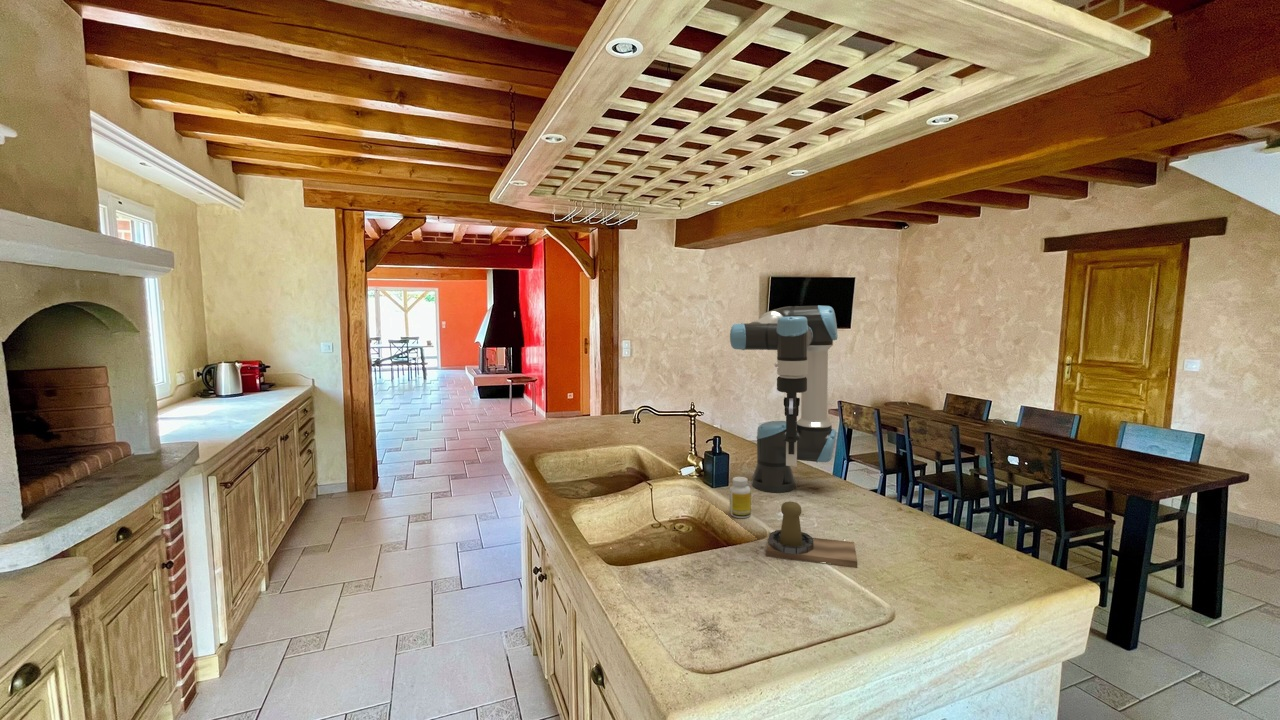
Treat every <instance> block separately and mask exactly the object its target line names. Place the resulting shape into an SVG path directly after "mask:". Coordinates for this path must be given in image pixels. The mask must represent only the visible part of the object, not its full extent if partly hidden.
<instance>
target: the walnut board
mask: <svg viewBox="0 0 1280 720" xmlns="http://www.w3.org/2000/svg"><path fill="white" fill-rule="evenodd" d="M770 533H771V532H769V534H770ZM769 534H768V535H769ZM812 538H813V539H814V547H813V550H811V551H810V552H808V553H803V554H789V553H783V552H780V551H778V550H775V549H773V548H772V547H771V546H770V545H769V537H768V539H767V545H766V551H765V552H766V555H765V556H766V557H771V558H776V559H777V558H778V559H787V560H794V561H800V562H801V561H802V562H809V563H810V562H811V563H818V564H821V563H820V562H826V563H831V564H830V565H832V564H836V565H835V566H840V565H843V566H842V567H848V568H858V558H857V552H856V546H855V542H854V541H846V540H838V539H829V538H828V539H827V538H818V537H812Z"/></svg>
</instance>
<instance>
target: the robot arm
mask: <svg viewBox="0 0 1280 720" xmlns="http://www.w3.org/2000/svg"><path fill="white" fill-rule="evenodd" d="M837 325H838V323H837V318H836V313H835V310H834V308H833V307H832V306H830V305H819V304H818V305H800V306H799V305H794V306H793V305H791V306H790V305H789V306H788V305H787V306H783V307H779V308H774V309H772V310H769V311H766V312H765V313H763V314H761V316H760V317H759V318H758V319H756V320H754V321H751V322H747V323H743V322H741V323H734V324H732V325H731V328H730V333H729V340H730V341H729V342H730V346H731V347H732V349H734V350H742V351H746V350H747V351H748V350H749V351H752V350H753V351H755V350H756V351H757V350H758V351H762V350H763V351H765V350H766V351H776V352H777V353H776V354H777V355H776V360H777V361H776V362H777V363H774V367H775V368H777V369H776V374H777V375H778V377H777V378H776V390H777V391H778V392H779V393H780V392H781V393H786V397H785V396H784V397H783V406H784V416H785V420H775V421H773V420H772V421H767V422H764V423H761V424H759V426H758V427H757V431H756V459H757V460H756V466H755V469H754V473H753V476H752V478H751V479H752V481H751V484H752V486H753V487H754V488H755V489H757V490H760V491H762V490H763V492H768V493H787V492H790V490H791V491H793V490H795V488H796V479H795V475H794V472H793V469H792V467H797V464H798V461H802V462H803V461H804V462H813V463H814V462H815V463H829V462H831V461H832V457H833V454H834V449H835V443H836V436H837V435H836V434H837V430H836V429H834V428H832V425H833V424H832V422H831V421H829V419H828V385H829V384H828V382H829V381H828V380H829V379H828V371H829V368H828V366H829V363H828V362H829V361H828V360H829V353H828V352H829V350H830V348H831V347H833V346H834V341H836V340H838V326H837ZM797 393H798V394H801V395H800V396H801V397H797V395H798V394H797ZM800 403H801V404H800ZM800 405H801V406H800ZM799 409H800V413H801V414H800V418H799V419H798V416H799ZM786 491H787V492H786Z"/></svg>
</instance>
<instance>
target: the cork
mask: <svg viewBox="0 0 1280 720" xmlns="http://www.w3.org/2000/svg"><path fill="white" fill-rule="evenodd" d="M780 510H781V513H782V515H783V516H782V521H781V528H780V530H781V534H780V541H779V543H780V544H783V545H787V546H802V545H803V542H802V535H801V532H802V528H801V520H800V519H801V518H800V516H801V514H802V506H801V504H799V503H798V502H796V501H785V502H783V503H782V504H781V508H780Z"/></svg>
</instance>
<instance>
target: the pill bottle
mask: <svg viewBox="0 0 1280 720" xmlns="http://www.w3.org/2000/svg"><path fill="white" fill-rule="evenodd" d="M748 482H749V480H748V477H745V476H734V477H733V478H732V485H731V486H730V488H729V513H730V515H731V516H732V517H734V518H737V519H746V518H747V519H748V518H749V517H750V516H751V515H752V491H751V490H752V489H751V488H750V486H749V485H748V484H749V483H748Z"/></svg>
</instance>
